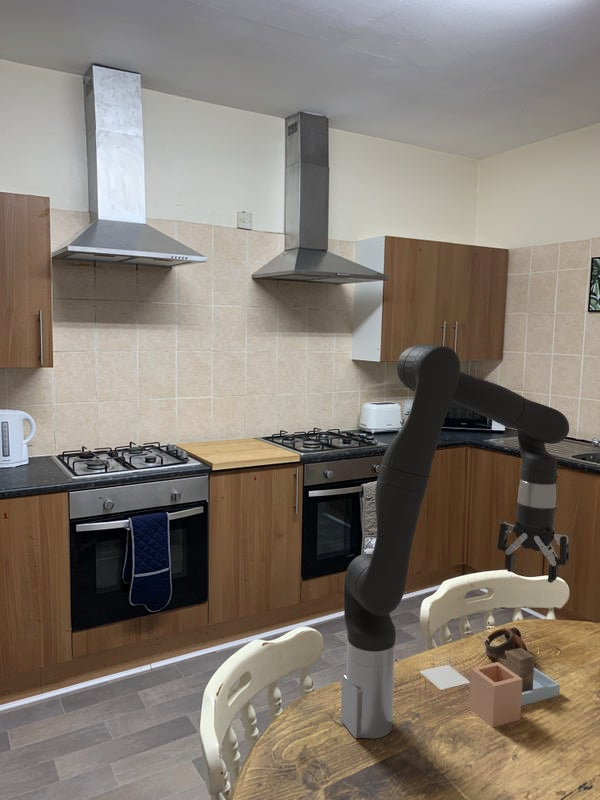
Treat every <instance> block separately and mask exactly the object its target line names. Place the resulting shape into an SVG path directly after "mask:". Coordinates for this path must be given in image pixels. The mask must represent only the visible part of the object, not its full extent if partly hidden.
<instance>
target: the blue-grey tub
mask: <svg viewBox="0 0 600 800" xmlns="http://www.w3.org/2000/svg"><path fill="white" fill-rule="evenodd" d="M560 687H561V684H560V683H558V682H557V681H556V680H554V679H552V678H551V677H549V676H548V675H546V674H545V673H543V672H542V671H540V670H539V669H537V668H536V667H534V677H533V690H530V691H526V692H522V699H521V707H523V706H526V705H529V704H530V705H531V704H534V703H537V702H541V701H544V700H547V699H552V698H554V697H558V696H560V691H561V688H560Z"/></svg>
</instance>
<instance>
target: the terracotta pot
mask: <svg viewBox="0 0 600 800" xmlns="http://www.w3.org/2000/svg"><path fill="white" fill-rule="evenodd" d="M469 676H470V677H469V679H470V680H469V681H470V683H469V699H468V708H469V710H471V711H472V712H473V713H475V714H476V715H477V717H479V718H480V719H481V720H483V721H484V722H485V723H486V724H487V725H489V726H490V728H496V727H499V726H503V725H506V724H510V723H513V722H517V721H520V720H521V715H522V714H521V713H522V706H521V699H522V681H523V679H522V678H520V677H519V676H518V675H516V674H515V673H513V672H512V671H510V670H509V669H508V668H506V665H503V664H502V663H500V661H497V662H492V663H488V664H484V665H480V666H475V667H471V668H470V675H469Z"/></svg>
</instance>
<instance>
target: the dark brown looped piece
mask: <svg viewBox="0 0 600 800" xmlns="http://www.w3.org/2000/svg"><path fill="white" fill-rule="evenodd" d="M502 636H504V638H505V639H506V641H504V642H503V643H501V644H499V645H491V643H492V642H493V641H494V640H495V639H498V638H499V637H502ZM484 646H485V654H486V655H487V656H488V657H489V658H495V659H496V658H501V659H502V660H505V661H506V652H507V651H509V650H514V649H518V648H522V649H524V650H525V651H527V652H528V651H529V650H528V648H527V646H526V644H525V642H524V640H523V639H522V633H521V631H520V630H519V629H518V628H517V627H511V628H499V629H496V630H495V631H492V632H491V633H490V634H488V636H487V639H486V640H485V641H484ZM528 653H529V652H528Z"/></svg>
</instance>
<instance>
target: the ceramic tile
mask: <svg viewBox="0 0 600 800" xmlns="http://www.w3.org/2000/svg"><path fill="white" fill-rule="evenodd" d="M418 672H420V674H421V675H422V676H423V677H424V678H426V679H427V680H428V681H429V682H431V684H433V685H434V686H435V687H436V688H437V689H439V690H440V691H442V690H446V689H450V688H454V687H457V686H458V687H459V686H463V685H467V684H470V680H468V679H467V678H466V677H465V676H463V675H462V674H461V673H460V672H459V671H457V670H455V668H453V666H451V665H450V664H445V665H440V666H437V667H431V668H428V669H423V670H419V671H418Z"/></svg>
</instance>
